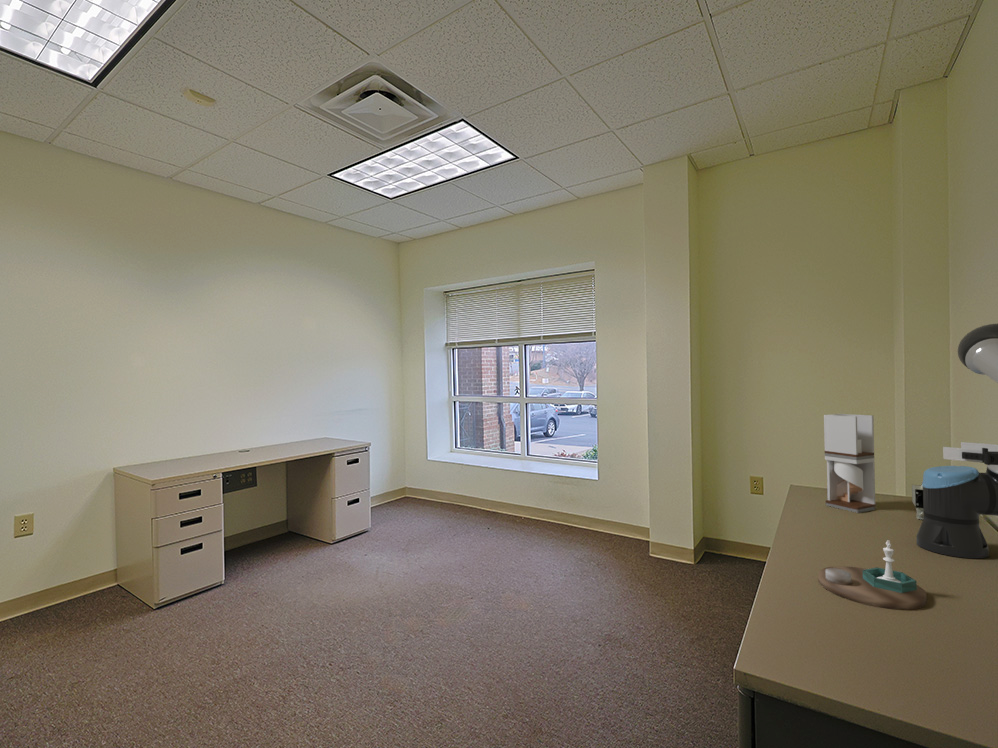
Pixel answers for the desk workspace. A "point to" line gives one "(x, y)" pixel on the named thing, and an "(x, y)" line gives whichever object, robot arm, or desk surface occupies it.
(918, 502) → the pneumatic valve
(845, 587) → the carrier
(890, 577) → the chess piece
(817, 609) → the desk surface
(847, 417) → the spiral staircase model
